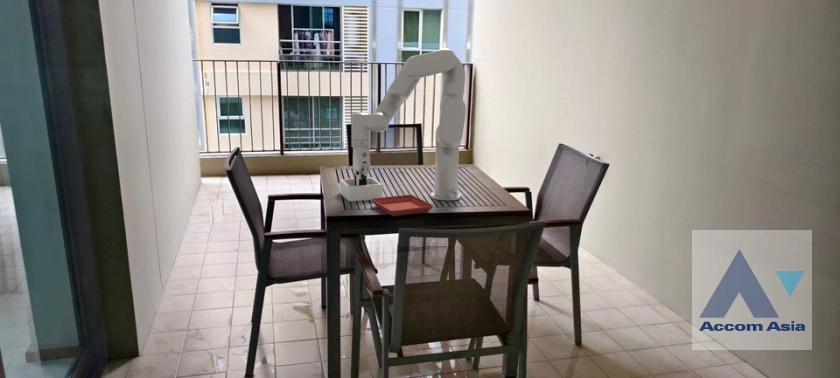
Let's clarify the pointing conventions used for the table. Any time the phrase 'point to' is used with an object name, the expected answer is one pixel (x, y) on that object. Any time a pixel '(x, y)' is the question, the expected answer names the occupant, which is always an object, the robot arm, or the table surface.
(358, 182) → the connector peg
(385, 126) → the robot arm
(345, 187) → the walled box
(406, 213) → the plant saucer
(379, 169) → the table surface
